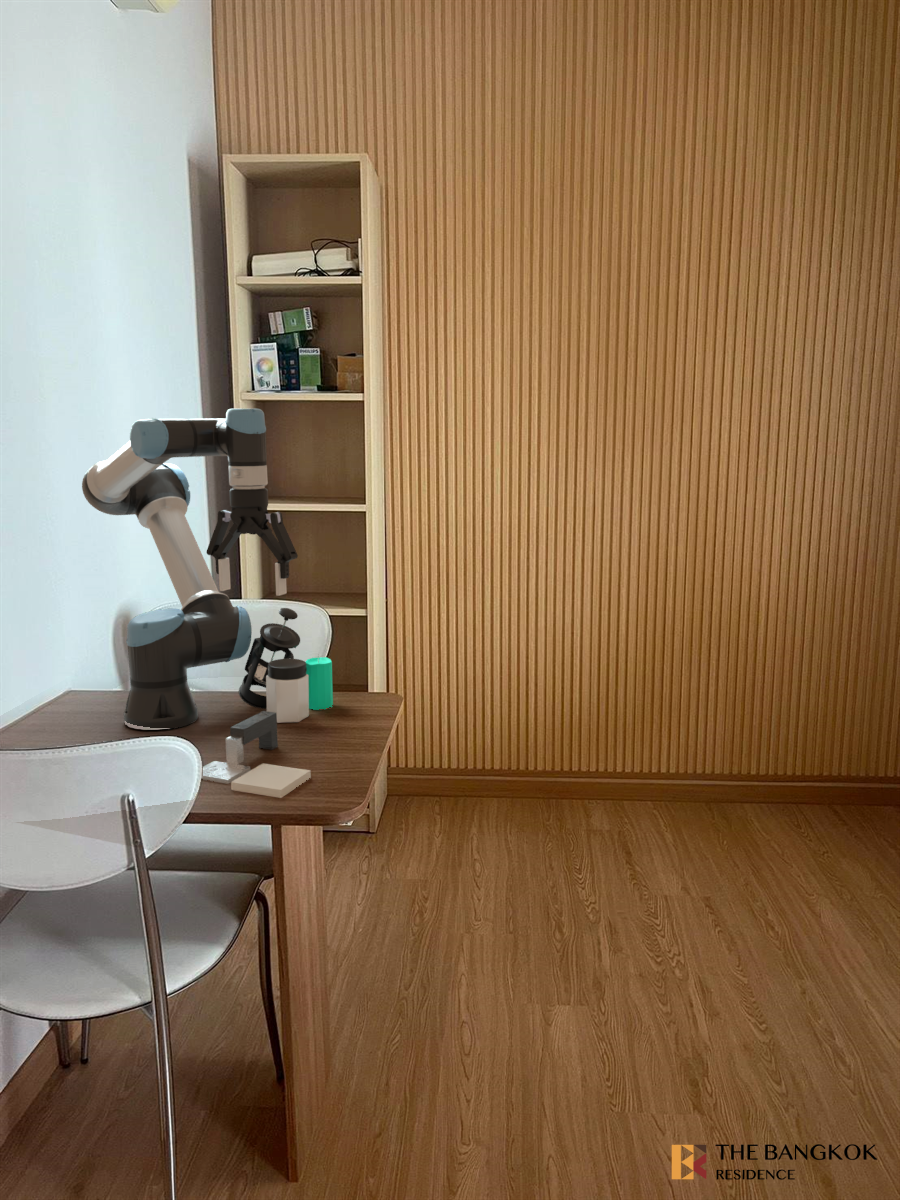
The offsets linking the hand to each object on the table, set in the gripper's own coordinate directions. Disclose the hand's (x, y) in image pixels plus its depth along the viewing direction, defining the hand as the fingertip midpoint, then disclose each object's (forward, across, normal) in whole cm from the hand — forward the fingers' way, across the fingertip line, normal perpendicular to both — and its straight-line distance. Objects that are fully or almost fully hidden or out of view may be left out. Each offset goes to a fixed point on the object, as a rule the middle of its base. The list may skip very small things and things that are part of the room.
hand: (253, 592), depth 196 cm
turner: (+29, +9, -19) cm, 35 cm away
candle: (+29, +4, +18) cm, 34 cm away
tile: (+28, +20, -21) cm, 40 cm away
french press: (+26, -10, +14) cm, 31 cm away
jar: (+29, +2, +8) cm, 30 cm away
